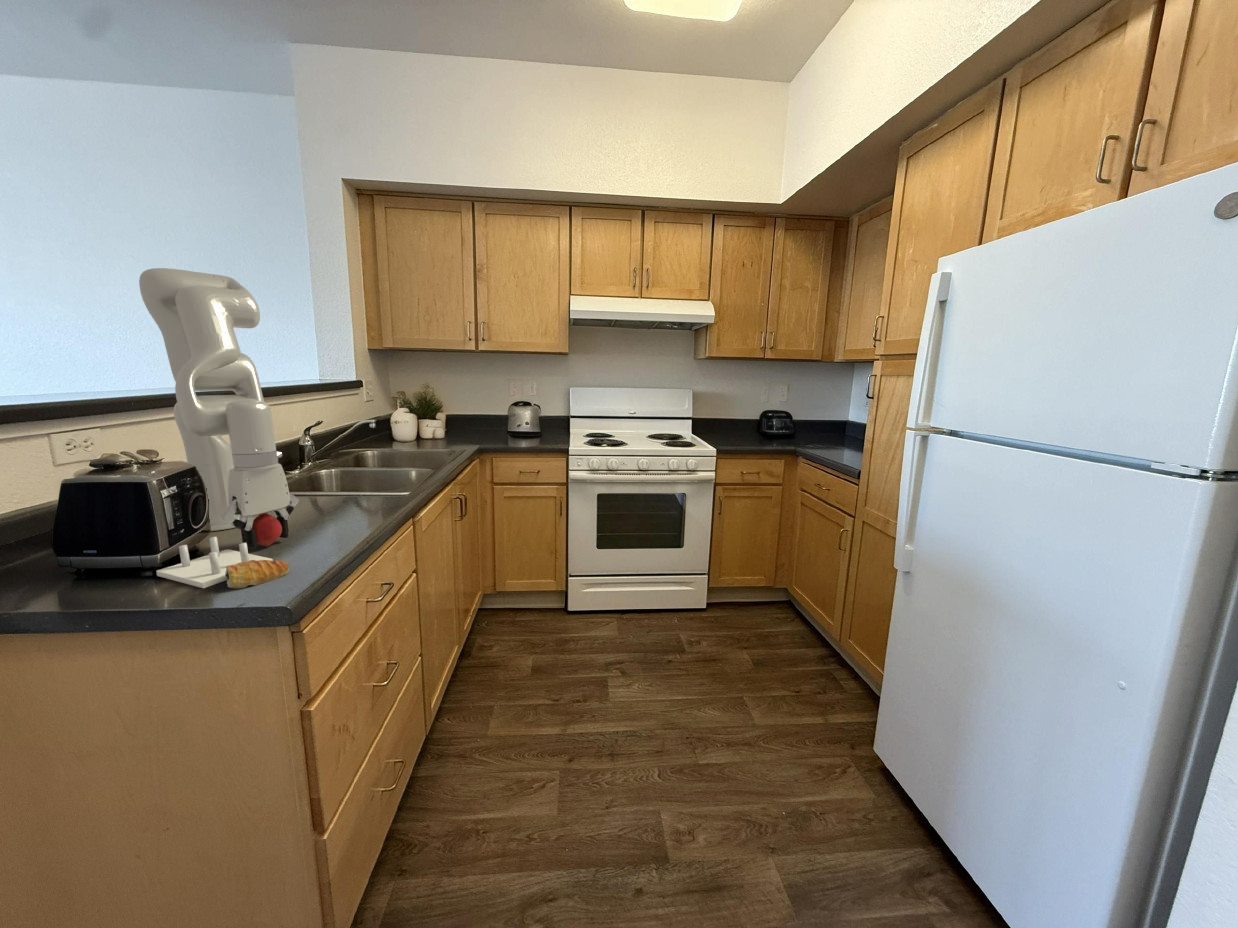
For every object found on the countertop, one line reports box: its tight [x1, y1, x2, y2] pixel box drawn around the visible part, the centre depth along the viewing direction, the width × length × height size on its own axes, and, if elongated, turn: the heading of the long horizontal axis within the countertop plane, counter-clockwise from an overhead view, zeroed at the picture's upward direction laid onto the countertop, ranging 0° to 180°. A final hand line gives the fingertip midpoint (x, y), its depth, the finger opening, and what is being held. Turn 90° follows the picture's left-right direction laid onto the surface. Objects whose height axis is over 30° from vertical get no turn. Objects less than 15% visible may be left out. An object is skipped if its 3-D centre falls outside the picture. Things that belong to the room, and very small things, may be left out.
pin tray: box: [156, 536, 274, 589], centre depth 93 cm, size 14×12×5 cm
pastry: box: [225, 559, 290, 590], centre depth 89 cm, size 9×7×4 cm
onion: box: [252, 513, 282, 547], centre depth 105 cm, size 6×6×8 cm
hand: (267, 541), depth 105 cm, fingers closed on onion, 5 cm apart
